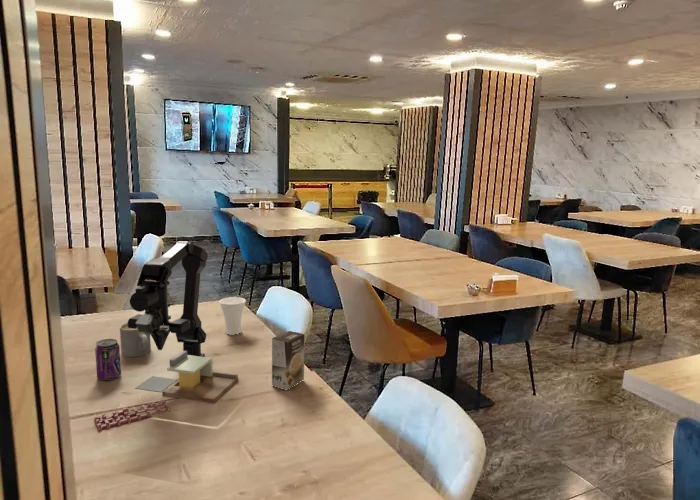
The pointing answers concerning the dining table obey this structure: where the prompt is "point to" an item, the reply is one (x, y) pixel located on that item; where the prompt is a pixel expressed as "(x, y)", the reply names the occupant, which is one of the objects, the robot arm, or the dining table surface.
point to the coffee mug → (134, 342)
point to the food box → (287, 359)
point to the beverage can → (107, 359)
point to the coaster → (156, 384)
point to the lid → (191, 364)
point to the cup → (232, 314)
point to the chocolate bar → (128, 416)
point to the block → (189, 380)
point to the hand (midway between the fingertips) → (160, 349)
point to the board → (204, 387)
